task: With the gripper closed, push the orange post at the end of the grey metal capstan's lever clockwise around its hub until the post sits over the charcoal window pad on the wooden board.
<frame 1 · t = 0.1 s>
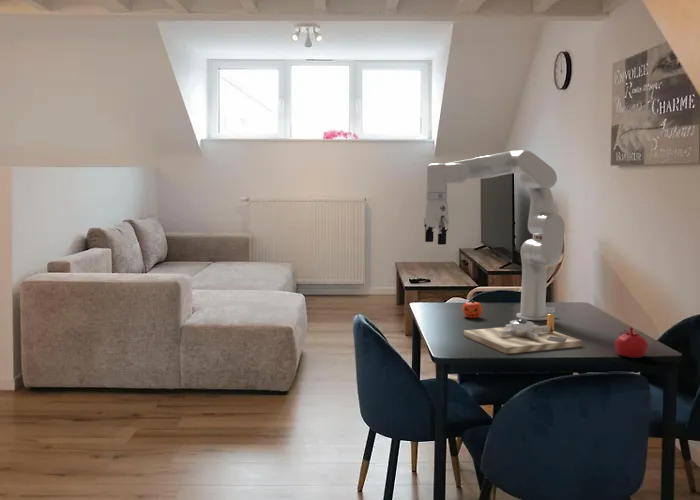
hand: (435, 243, 265), 31 cm above the table, tool pointing down, fingers open, 9 cm apart
capstan: (527, 324, 245), point 5 cm above the table, hinge at 0.0°
pomegranate: (630, 356, 227), on the table
pumpkin: (472, 318, 284), on the table
wooden board: (521, 341, 245), on the table
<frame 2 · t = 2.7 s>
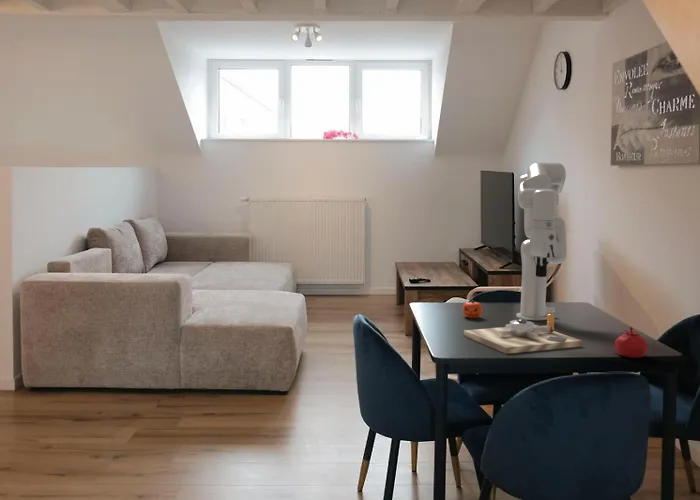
hand: (540, 276, 253), 21 cm above the table, tool pointing down, fingers closed
nothing on the table moved.
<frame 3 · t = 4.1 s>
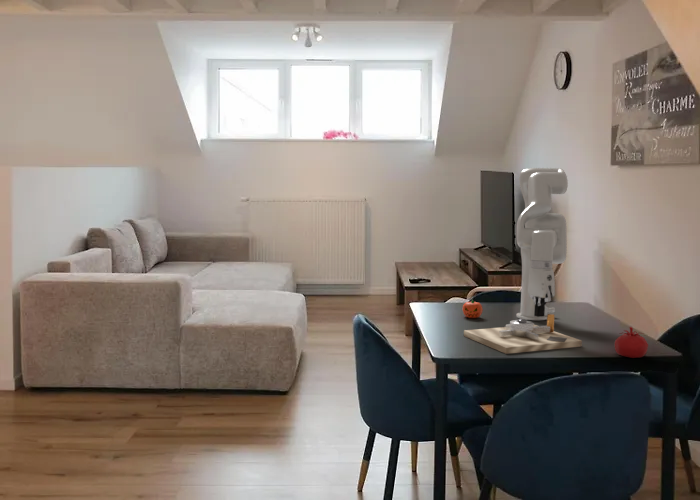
hand: (539, 316, 254), 7 cm above the table, tool pointing down, fingers closed
nothing on the table moved.
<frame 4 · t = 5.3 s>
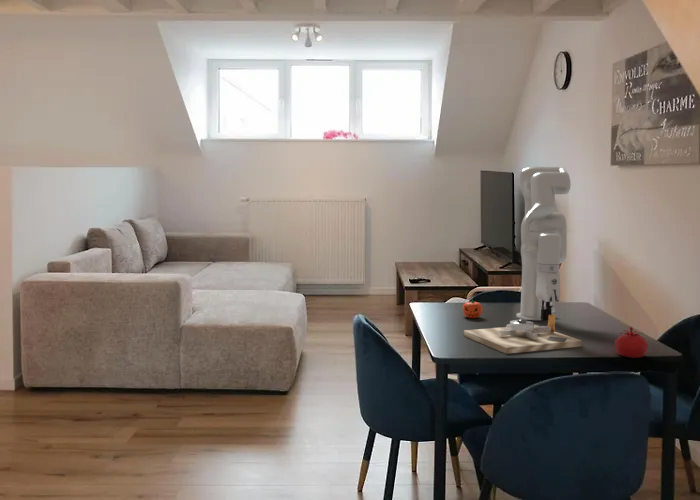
hand: (545, 319, 251), 6 cm above the table, tool pointing down, fingers closed
capstan: (527, 324, 245), point 5 cm above the table, hinge at 2.7°, touching gripper
everything else where it was.
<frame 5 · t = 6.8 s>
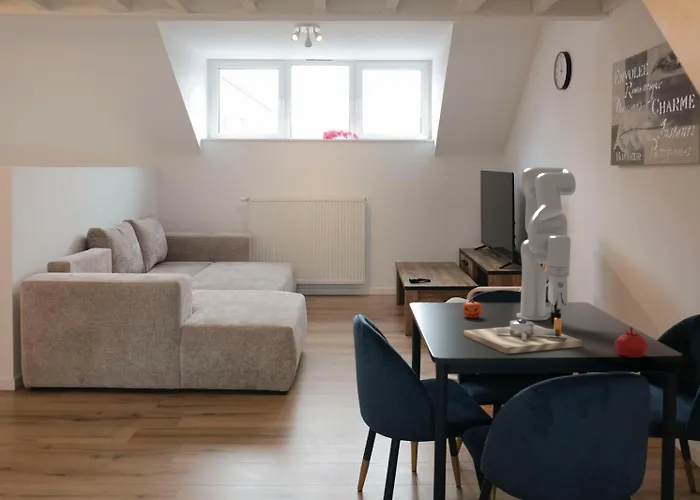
hand: (555, 323, 246), 6 cm above the table, tool pointing down, fingers closed
capstan: (528, 325, 244), point 6 cm above the table, hinge at 29.5°, touching gripper
everything else where it was.
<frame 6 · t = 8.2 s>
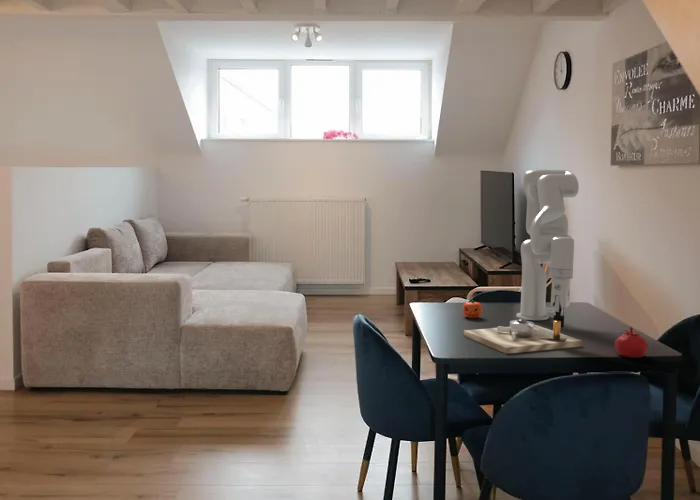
hand: (558, 326, 241), 6 cm above the table, tool pointing down, fingers closed
capstan: (528, 326, 243), point 5 cm above the table, hinge at 53.0°, touching gripper
everything else where it was.
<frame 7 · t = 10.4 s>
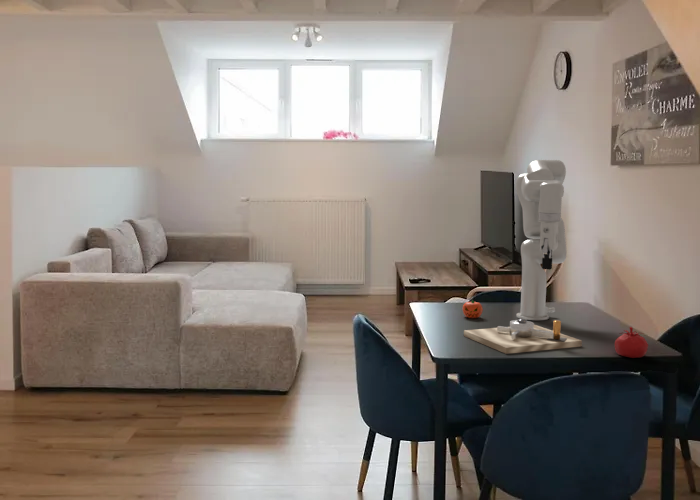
hand: (546, 268, 253), 24 cm above the table, tool pointing down, fingers closed
capstan: (528, 326, 243), point 5 cm above the table, hinge at 53.2°
everything else where it was.
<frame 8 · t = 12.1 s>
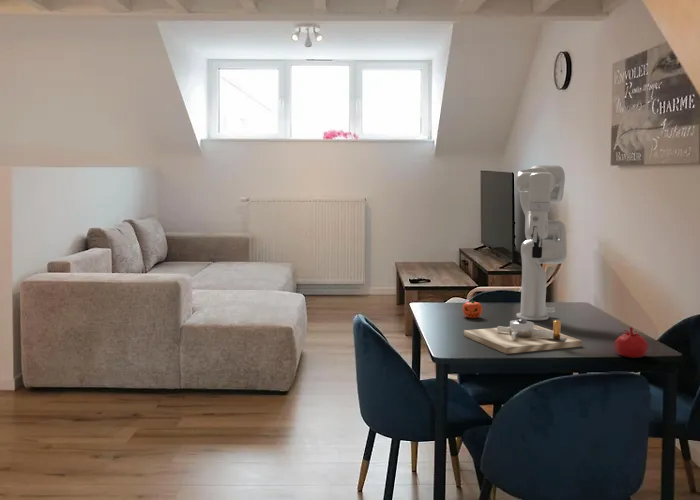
hand: (536, 257, 258), 27 cm above the table, tool pointing down, fingers closed
nothing on the table moved.
at the end: capstan at +53° (first picture: +0°) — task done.
